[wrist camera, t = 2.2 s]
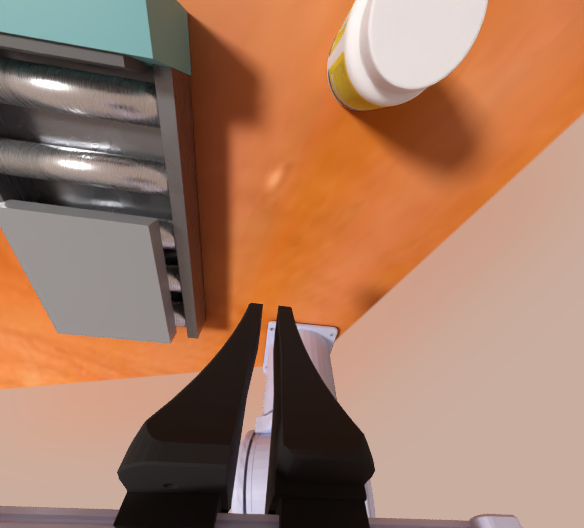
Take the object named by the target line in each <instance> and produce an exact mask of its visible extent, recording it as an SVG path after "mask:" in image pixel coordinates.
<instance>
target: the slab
mask: <svg viewBox="0 0 584 528" xmlns="http://www.w3.org/2000/svg"><path fill="white" fill-rule="evenodd" d="M0 227H1V229H2V231H3V233H4V235H5V236H6V238H7V240H8V242H9V244H10V246H11V248H12V249H13V251H14V253H15V255H16V257H17V259H18V260H19V262H20V264H21V266H22V268H23V270H24V272H25V273H26V275H27V277H28V279H29V281H30V283H31V285H32V286H33V288H34V290H35V292H36V294H37V296H38V297H39V299H40V301H41V303H42V305H43V307H44V309H45V310H46V312H47V314H48V316H49V318H50V320H51V321H52V323H53V325H54V327H55V329H56V331H57V333H59V334H70V335H81V336H92V337H103V338H114V339H125V340H137V341H148V342H159V343H170V344H171V342H172V340H173V338H174V336H175V334H176V332H177V331H176V325H175V319H174V313H173V307H172V301H171V294H170V288H169V282H168V276H167V270H166V264H165V258H164V252H163V245H162V239H161V233H160V227H159V221H158V218H150V217H143V216H135V215H127V214H119V213H112V212H104V211H96V210H88V209H80V208H73V207H65V206H57V205H49V204H42V203H34V202H26V201H18V200H7V201H4V202H0Z"/></svg>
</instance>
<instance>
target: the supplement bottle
mask: <svg viewBox="0 0 584 528" xmlns="http://www.w3.org/2000/svg"><path fill="white" fill-rule="evenodd" d="M487 3H488V0H355V2H354V4H353V6H352V8H351V10H350V12H349V14H348V15H347V17H346V19H345V21H344V23H343V25H342V26H341V28H340V30H339V32H338V34H337V36H336V38H335V40H334V42H333V44H332V47H331V50H330V53H329V57H328V64H327V76H328V82H329V86H330V89H331V92H332V94H333V96H334V97H335V99H336V100H337V101H338V102H339V103H340V104H341V105H342V106H344V107H345V108H347V109H350V110H354V111H366V110H372V109H378V108H384V107H390V106H396V105H400V104H403V103H405V102H407V101H409V100H411V99H413V98H415V97H416V96H418V95H419V94H420V93H422V92H423V91H424V90H425V89H426V88H427V87H429V86H432V85H434V84H436V83H437V82H439V81H440V80H442V79H443V78H445V77H446V76H447V75H448V74H450V73H451V72H452V71H453V70H454V69H455V68H456V67H457V66H458V65H459V64H460V62H461V61H462V60H463V59H464V58H465V56H466V55H467V53H468V52H469V50H470V49H471V47H472V45H473V43H474V41H475V40H476V38H477V35H478V33H479V31H480V29H481V26H482V23H483V20H484V16H485V13H486V8H487Z"/></svg>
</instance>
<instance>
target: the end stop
mask: <svg viewBox="0 0 584 528" xmlns="http://www.w3.org/2000/svg"><path fill="white" fill-rule="evenodd" d="M0 49H4V50H10V51H16V52H21V53H27V54H33V55H39V56H45V57H50V58H56V59H62V60H68V61H74V62H79V63H85V64H91V65H97V66H102V67H108V68H114V69H120V70H126V71H131V72H137V73H143V74H146V67H148V68H153V65H152V64H156V65H161V66H167V67H172V68H174V69H176V70H179V71H181V72H183V73H185V74H188V75H190V76H191V62H190V47H189V31H188V15H187V11H186V10H185V9H184V8H183V7H182V6H181V4H180V3H179V2H178V1H177V0H0Z"/></svg>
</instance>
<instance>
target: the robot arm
mask: <svg viewBox="0 0 584 528" xmlns="http://www.w3.org/2000/svg"><path fill="white" fill-rule="evenodd" d="M262 308H263V304H256V303H250V304H249V306H248V308H247V310H246V312H245V314H244V316H243V318H242V320H241V321H240V323H239V324H238V326H237V328H236V329H235V331H234V332H233V334H232V335H231V337H230V338H229V339H228V341H227V342H226V343H225V345H224V346H223V347H222V349H221V350H220V351H219V352H218V353H217V355H216V356H215V357H214V358H213V359H212V360H211V362H210V363H209V364H208V365H207V366H206V367H205V368H204V369H203V370H202V371H201V372H200V373H199V375H198V376H197V377H196V378H195V379H194V380H192V382H190V383H189V384H188V385H187V386H186V387H185V388H184V389H183V390H182V391H181V392H180V393H178V394H177V395H176V396H175V397H174V398H173V399H172V400H171V401H169V402H168V403H167V404H166V405H165V406H163V407H162V408H161V409H160V410H158V411H157V412H156V413H155V414H154V415H152V416H151V417H150V418H149V419H148V420H146V422H145V423H144V424H143V426H142V427H141V429H140V430H139V432H138V433H137V435H136V436H135V438H134V440H133V442H132V443H131V445H130V447H129V448H128V451H127V452H126V455H125V457H124V459H123V461H122V463H121V465H120V467H119V469H118V472H117V473H118V476H119V479H120V481H121V482H122V483H123V485H124V486H125V488H126V489H127V494H126V496H125V498H124V500H123V503H122V505H121V507H120V510H110V509H79V508H48V507H15V506H0V528H522V526H521V525H520V523H519V521H518V519H517V518H516V517H515V516H514V515H498V514H497V515H496V514H483V515H478V516H475V517H473V518H471V519H470V521H457V520H426V519H393V518H375V508H374V500H373V494H372V487H371V482H370V478H371V477H372V475H373V473H374V472H375V468H374V462H373V458H372V455H371V452H370V449H369V446H368V443H367V441H366V438H365V436H364V434H363V433H362V432H361V430H360V429H359V428H358V427H357V426H356V425H355V423H354V422H353V421H352V420H351V418H350V417H349V416H348V415H347V414H346V412H345V411H344V410H343V408H342V407H341V406H340V404H339V403H338V402H337V398H336V392H335V386H334V380H333V374H332V367H331V362H330V352H331V350H332V347H333V344H334V341H335V338H336V335H337V332H338V331H337V328H336V327H329V326H319V325H309V324H299V323H295V320H294V316H293V312H292V308H291V307H286V306H279V307H278V314H277V321H270V322H269V325H268V333H267V341H266V349H265V357H264V365H263V373H264V374H266V384H265V394H264V404H263V415H262V416H261V417H257V419H256V428H255V430H251V431H249V432H248V433H247V434H246V435H245V437H244V439H243V440H242V442H241V443H240V440H241V433H242V426H243V419H244V412H245V405H246V399H247V394H248V389H249V385H250V380H251V376H252V372H253V368H254V364H255V359H256V355H257V351H258V344H259V336H260V328H261V318H262ZM231 505H232V513H228V512H229V510H230V509H231Z"/></svg>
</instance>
